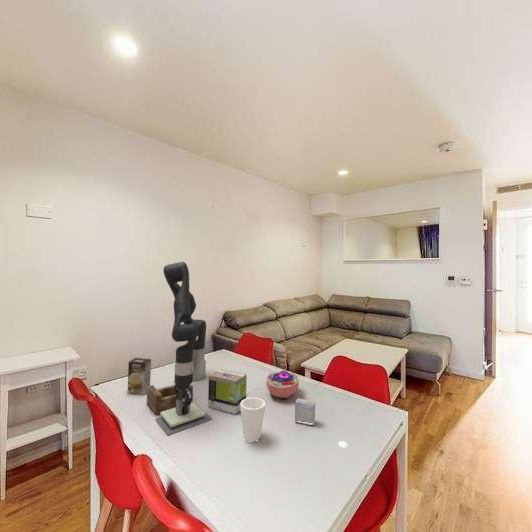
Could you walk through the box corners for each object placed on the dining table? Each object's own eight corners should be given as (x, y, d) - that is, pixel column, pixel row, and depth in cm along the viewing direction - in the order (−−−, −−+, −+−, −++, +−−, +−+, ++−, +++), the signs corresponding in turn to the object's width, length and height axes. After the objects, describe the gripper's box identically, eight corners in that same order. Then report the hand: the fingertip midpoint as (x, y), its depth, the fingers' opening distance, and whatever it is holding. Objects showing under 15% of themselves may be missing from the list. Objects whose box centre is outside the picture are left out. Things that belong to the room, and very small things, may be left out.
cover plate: (193, 404, 128) (193, 391, 128) (205, 415, 119) (205, 401, 119) (160, 414, 119) (160, 400, 119) (170, 427, 110) (171, 412, 110)
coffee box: (126, 393, 140) (127, 361, 140) (133, 388, 146) (134, 357, 146) (144, 395, 139) (145, 362, 139) (150, 389, 145) (151, 358, 145)
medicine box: (315, 421, 119) (315, 401, 119) (313, 427, 115) (313, 405, 115) (296, 417, 122) (297, 397, 122) (294, 423, 118) (294, 402, 118)
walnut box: (182, 394, 140) (182, 377, 140) (192, 404, 131) (193, 386, 131) (146, 404, 130) (147, 386, 130) (155, 415, 120) (155, 396, 120)
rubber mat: (197, 406, 130) (197, 405, 130) (212, 419, 119) (212, 418, 119) (155, 419, 117) (155, 418, 117) (167, 435, 107) (167, 434, 107)
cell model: (259, 400, 137) (259, 376, 137) (273, 384, 156) (274, 364, 156) (292, 407, 131) (293, 383, 131) (303, 390, 149) (304, 369, 149)
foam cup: (255, 448, 101) (255, 412, 101) (234, 439, 106) (235, 404, 106) (268, 435, 109) (269, 401, 109) (249, 427, 114) (250, 395, 114)
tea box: (246, 405, 132) (247, 373, 132) (235, 415, 123) (236, 381, 123) (219, 398, 138) (220, 368, 138) (207, 407, 129) (208, 375, 129)
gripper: (199, 374, 116) (198, 416, 116) (185, 364, 127) (184, 403, 127) (182, 378, 111) (181, 422, 111) (169, 368, 122) (168, 408, 122)
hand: (182, 412), depth 119 cm, fingers closed on cover plate, 3 cm apart
